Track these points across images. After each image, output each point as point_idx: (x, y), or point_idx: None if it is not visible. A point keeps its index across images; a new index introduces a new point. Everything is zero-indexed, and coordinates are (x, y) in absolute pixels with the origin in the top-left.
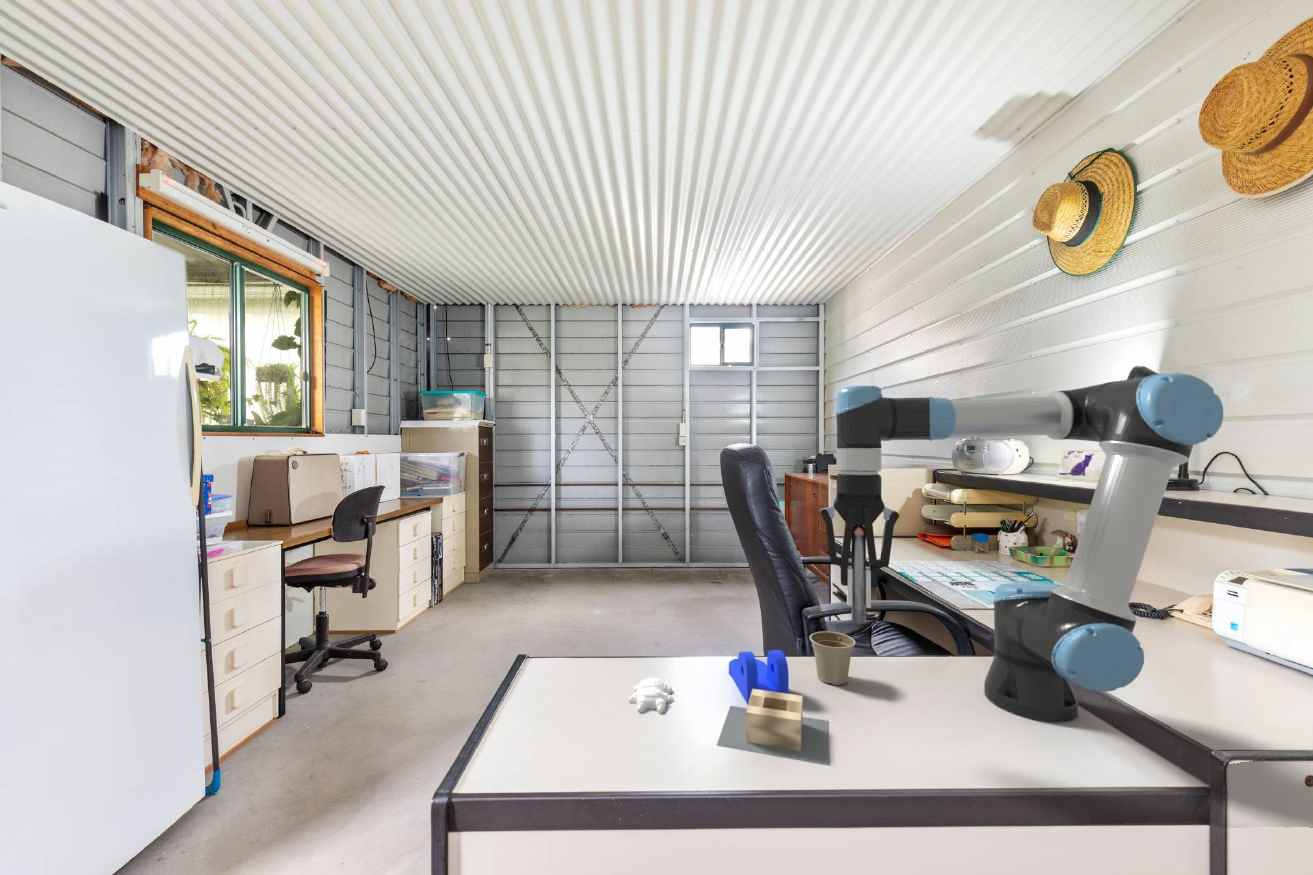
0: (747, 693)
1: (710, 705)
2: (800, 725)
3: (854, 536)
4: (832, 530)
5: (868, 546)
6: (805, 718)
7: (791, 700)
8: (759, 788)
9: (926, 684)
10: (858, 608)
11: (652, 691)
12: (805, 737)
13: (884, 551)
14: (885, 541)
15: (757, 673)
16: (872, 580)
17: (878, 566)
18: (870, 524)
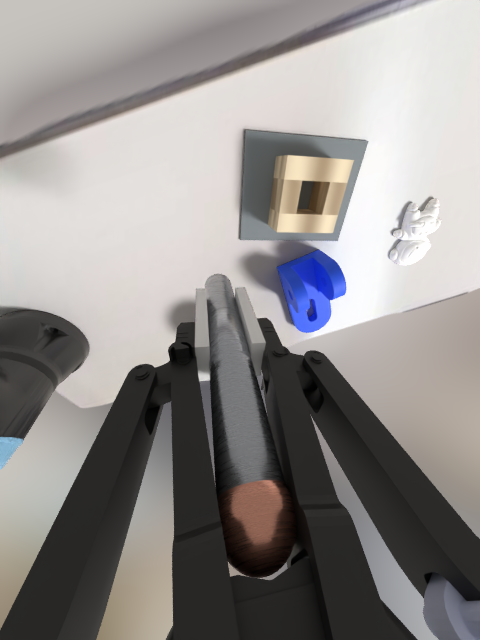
0: (324, 253)
1: (356, 237)
2: (285, 155)
3: (275, 470)
4: (398, 481)
5: (203, 428)
6: (263, 237)
7: (291, 214)
8: (334, 39)
9: (144, 345)
10: (222, 287)
11: (427, 223)
12: (267, 193)
13: (132, 418)
14: (112, 473)
15: (323, 266)
16: (190, 334)
17: (168, 368)
18: (190, 612)
